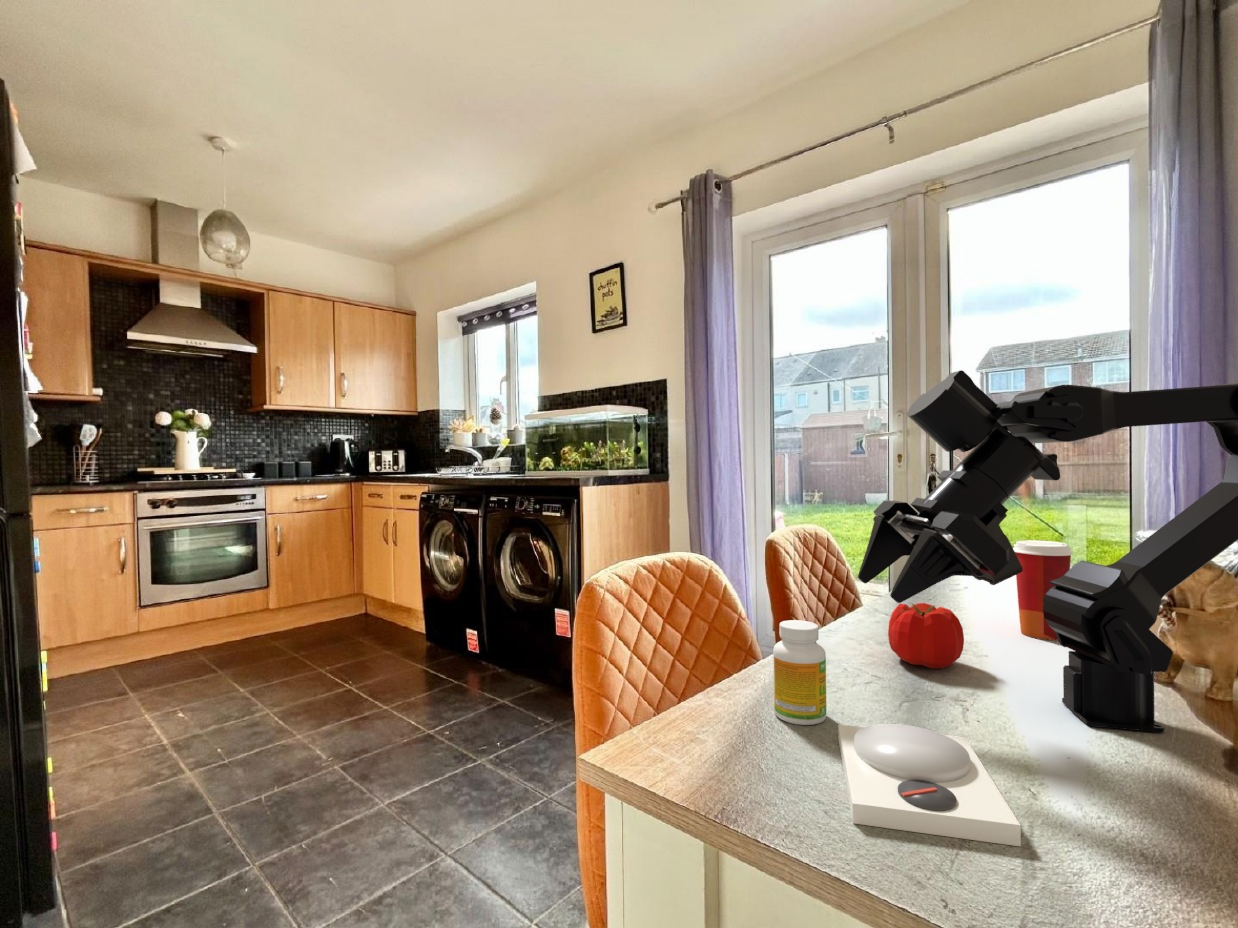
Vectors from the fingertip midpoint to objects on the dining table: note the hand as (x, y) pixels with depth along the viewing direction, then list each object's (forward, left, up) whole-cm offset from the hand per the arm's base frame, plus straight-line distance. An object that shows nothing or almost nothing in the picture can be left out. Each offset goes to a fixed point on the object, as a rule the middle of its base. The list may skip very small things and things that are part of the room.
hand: (876, 589), depth 64 cm
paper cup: (-28, -37, -14) cm, 49 cm away
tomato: (-8, -19, -14) cm, 25 cm away
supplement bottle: (+8, +2, -14) cm, 16 cm away
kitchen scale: (-1, +14, -13) cm, 19 cm away
